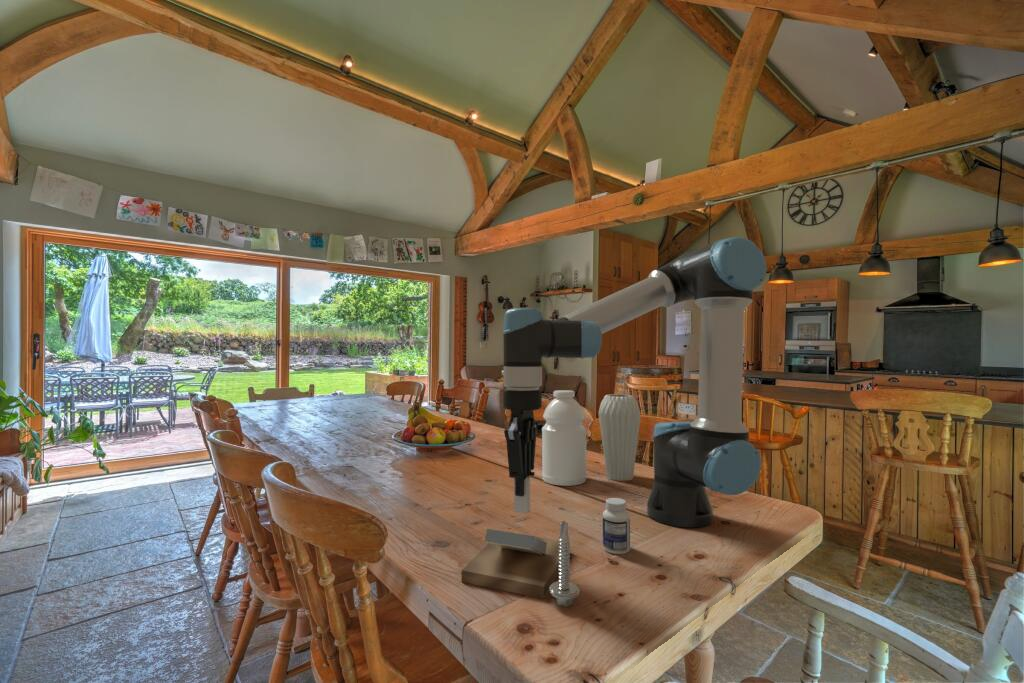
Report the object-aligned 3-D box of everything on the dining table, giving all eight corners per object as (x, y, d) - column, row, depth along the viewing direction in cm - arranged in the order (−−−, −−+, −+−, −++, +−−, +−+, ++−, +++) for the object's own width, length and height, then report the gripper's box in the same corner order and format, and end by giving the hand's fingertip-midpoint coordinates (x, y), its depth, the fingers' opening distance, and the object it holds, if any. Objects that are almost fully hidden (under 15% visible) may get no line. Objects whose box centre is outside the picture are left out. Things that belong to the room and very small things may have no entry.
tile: (546, 543, 85) (534, 536, 77) (545, 555, 84) (532, 549, 76) (503, 536, 88) (487, 528, 81) (501, 548, 87) (484, 541, 80)
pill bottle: (610, 541, 95) (610, 494, 95) (634, 548, 91) (633, 500, 91) (598, 549, 90) (597, 501, 91) (622, 557, 87) (622, 507, 87)
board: (569, 552, 89) (569, 542, 89) (543, 598, 72) (543, 586, 72) (500, 541, 94) (500, 531, 94) (461, 581, 78) (461, 570, 78)
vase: (591, 473, 147) (591, 394, 147) (626, 470, 151) (626, 393, 151) (612, 485, 134) (611, 398, 135) (649, 481, 138) (649, 396, 139)
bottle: (532, 479, 140) (532, 390, 141) (560, 471, 150) (560, 388, 150) (568, 489, 130) (567, 393, 130) (595, 480, 140) (595, 391, 140)
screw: (585, 604, 71) (563, 614, 68) (564, 591, 75) (542, 600, 72) (585, 521, 71) (563, 529, 68) (564, 513, 75) (542, 519, 72)
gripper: (516, 385, 93) (515, 498, 93) (491, 390, 81) (490, 520, 81) (550, 386, 91) (550, 503, 90) (529, 391, 79) (529, 526, 78)
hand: (521, 511), depth 85 cm, fingers closed
